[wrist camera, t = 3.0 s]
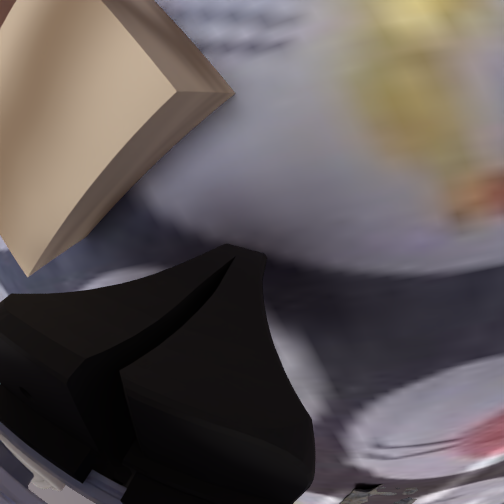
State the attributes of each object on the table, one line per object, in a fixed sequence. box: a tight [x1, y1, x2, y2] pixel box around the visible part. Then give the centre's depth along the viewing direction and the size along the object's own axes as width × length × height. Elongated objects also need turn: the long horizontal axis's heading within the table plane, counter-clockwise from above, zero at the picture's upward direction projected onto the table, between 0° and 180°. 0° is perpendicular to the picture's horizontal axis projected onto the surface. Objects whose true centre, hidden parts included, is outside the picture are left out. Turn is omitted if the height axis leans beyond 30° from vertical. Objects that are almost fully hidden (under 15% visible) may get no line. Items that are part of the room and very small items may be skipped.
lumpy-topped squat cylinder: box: [0, 434, 65, 491], centre depth 26 cm, size 10×13×9 cm
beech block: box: [0, 0, 235, 277], centre depth 9 cm, size 7×9×4 cm
